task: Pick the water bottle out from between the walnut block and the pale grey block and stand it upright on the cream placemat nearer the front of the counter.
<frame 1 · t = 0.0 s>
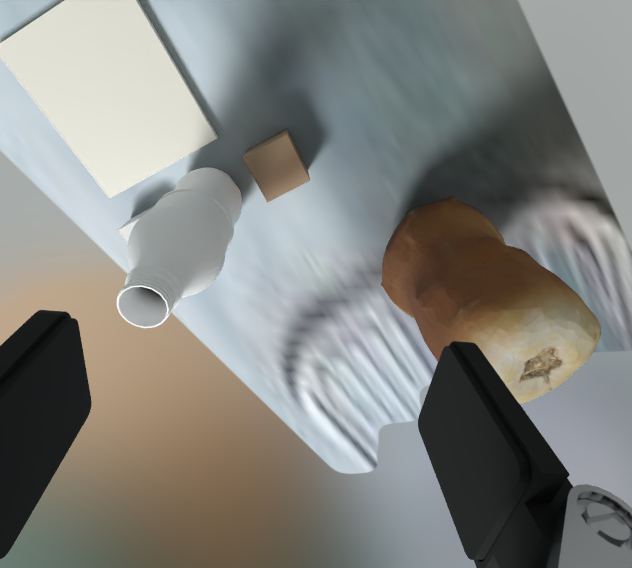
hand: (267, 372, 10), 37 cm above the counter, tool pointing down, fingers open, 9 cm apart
walnut block: (277, 160, 44), on the counter
butternut squash: (421, 240, 50), on the counter
water bottle: (213, 194, 45), on the counter
pale grey block: (155, 225, 46), on the counter
placemat: (116, 95, 40), on the counter
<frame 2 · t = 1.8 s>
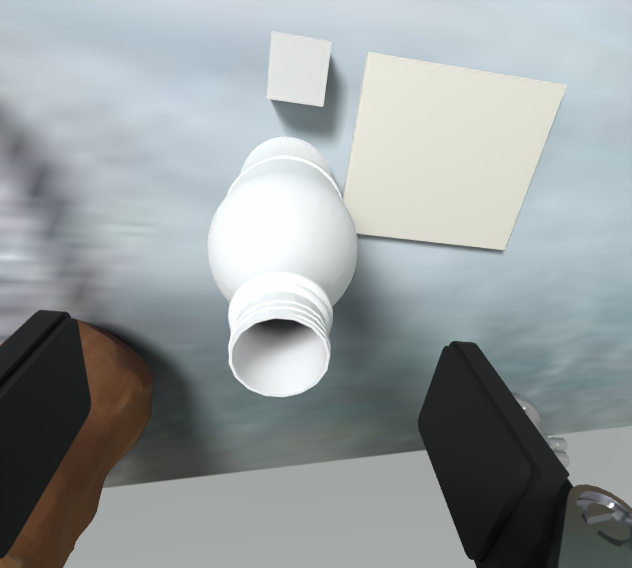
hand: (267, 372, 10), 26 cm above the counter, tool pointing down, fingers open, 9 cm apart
butternut squash: (104, 349, 41), on the counter
water bottle: (286, 176, 34), on the counter
pale grey block: (297, 72, 30), on the counter
placemat: (440, 161, 34), on the counter
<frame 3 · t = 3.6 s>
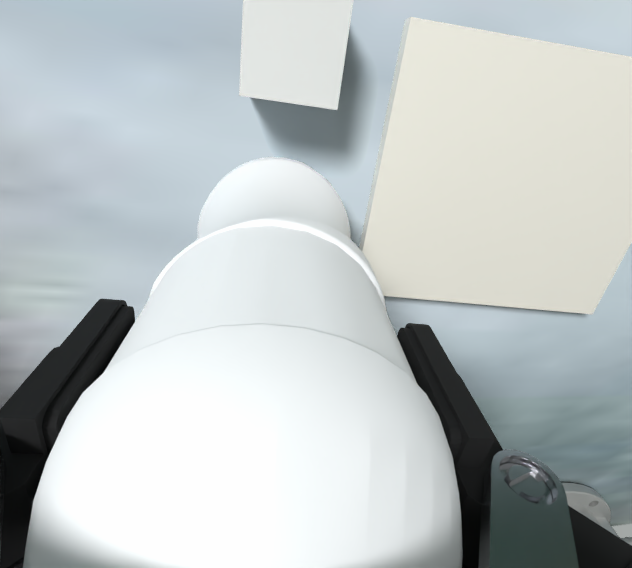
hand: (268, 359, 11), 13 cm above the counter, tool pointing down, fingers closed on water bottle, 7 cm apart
water bottle: (277, 213, 22), on the counter, touching gripper
pale grey block: (292, 52, 18), on the counter
placemat: (510, 190, 22), on the counter
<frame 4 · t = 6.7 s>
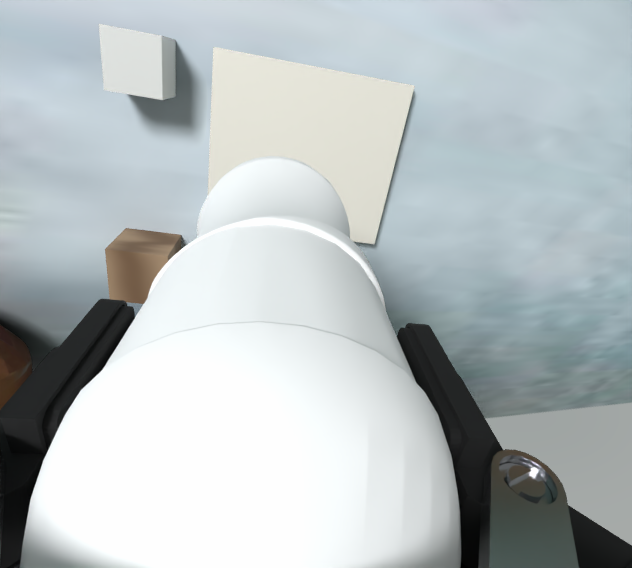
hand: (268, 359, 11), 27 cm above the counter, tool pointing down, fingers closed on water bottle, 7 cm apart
walnut block: (154, 255, 38), on the counter
water bottle: (276, 213, 22), point 14 cm above the counter, touching gripper
pale grey block: (149, 64, 31), on the counter
placemat: (303, 156, 35), on the counter
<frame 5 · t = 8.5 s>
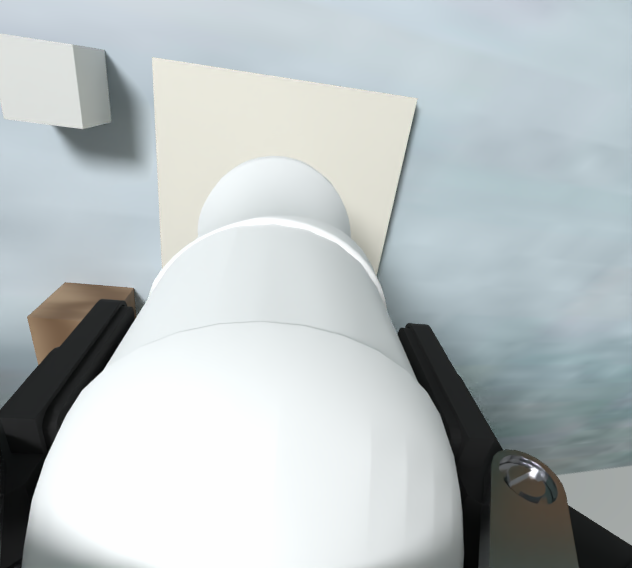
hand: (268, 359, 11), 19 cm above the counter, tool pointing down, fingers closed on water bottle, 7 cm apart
walnut block: (103, 312, 31), on the counter
water bottle: (277, 212, 22), point 6 cm above the counter, touching gripper
pale grey block: (74, 82, 24), on the counter
placemat: (279, 189, 28), on the counter
when the fingers open (15 cm above the counter, at t = 9.8 s): water bottle drops 1 cm, resting on placemat.
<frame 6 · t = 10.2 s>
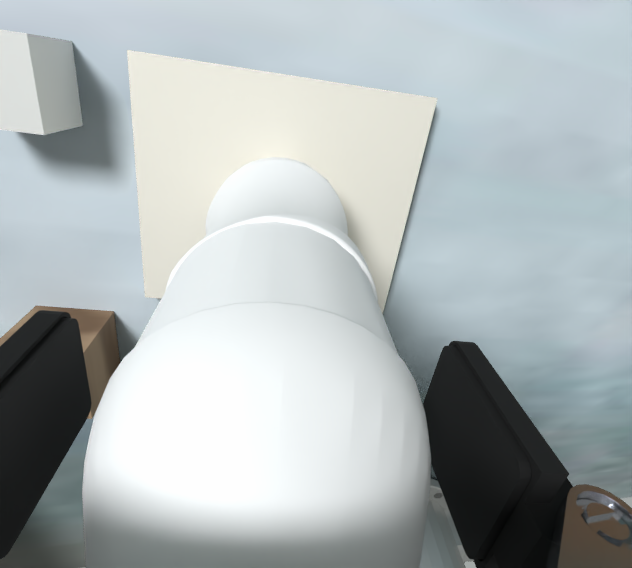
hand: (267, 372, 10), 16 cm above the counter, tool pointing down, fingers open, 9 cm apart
walnut block: (81, 337, 28), on the counter
water bottle: (279, 209, 24), point 1 cm above the counter, touching placemat
pale grey block: (37, 79, 20), on the counter
placemat: (277, 202, 24), on the counter
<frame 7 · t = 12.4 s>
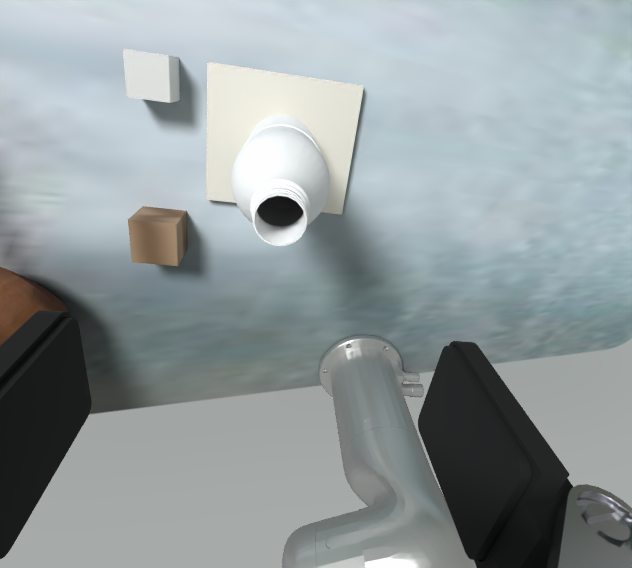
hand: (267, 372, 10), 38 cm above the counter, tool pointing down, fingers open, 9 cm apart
walnut block: (165, 228, 48), on the counter
butternut squash: (34, 297, 51), on the counter
water bottle: (282, 147, 43), point 1 cm above the counter, touching placemat
pale grey block: (159, 76, 40), on the counter
placemat: (281, 144, 44), on the counter
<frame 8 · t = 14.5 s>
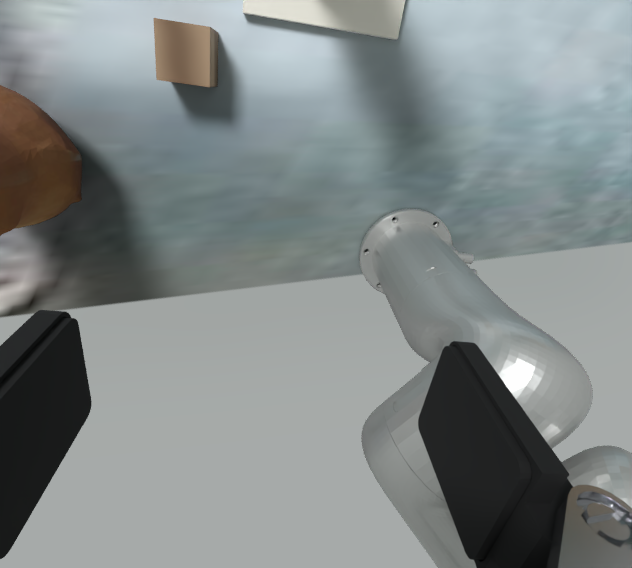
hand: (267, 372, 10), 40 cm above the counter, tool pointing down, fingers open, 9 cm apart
walnut block: (193, 56, 41), on the counter
butternut squash: (41, 148, 44), on the counter
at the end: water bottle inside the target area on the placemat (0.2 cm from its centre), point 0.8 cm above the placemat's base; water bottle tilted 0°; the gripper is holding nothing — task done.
